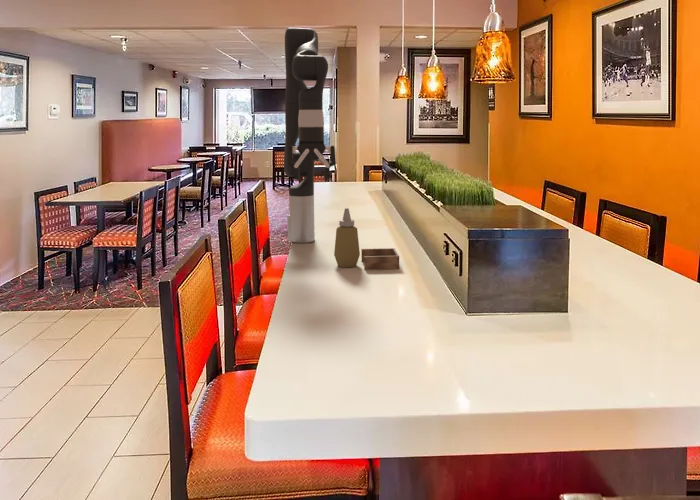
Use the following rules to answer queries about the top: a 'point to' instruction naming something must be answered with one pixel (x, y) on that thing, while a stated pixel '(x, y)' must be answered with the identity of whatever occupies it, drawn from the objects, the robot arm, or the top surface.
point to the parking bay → (380, 258)
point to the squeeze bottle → (346, 242)
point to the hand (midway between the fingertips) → (312, 180)
